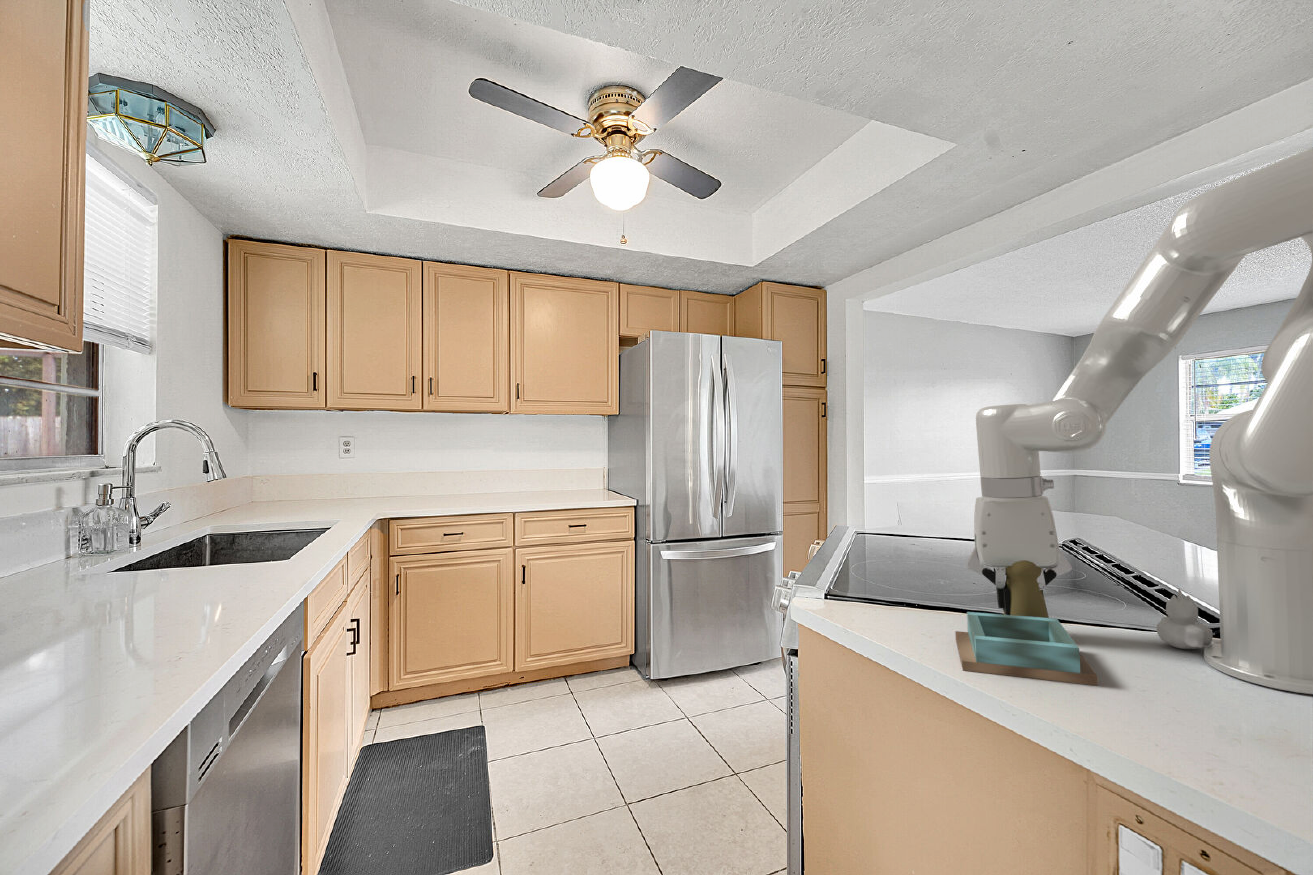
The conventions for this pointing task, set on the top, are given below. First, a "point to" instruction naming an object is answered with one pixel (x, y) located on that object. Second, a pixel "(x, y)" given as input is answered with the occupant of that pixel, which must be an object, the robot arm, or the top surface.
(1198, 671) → the top surface
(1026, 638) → the board
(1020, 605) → the cork
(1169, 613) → the rubber duck
